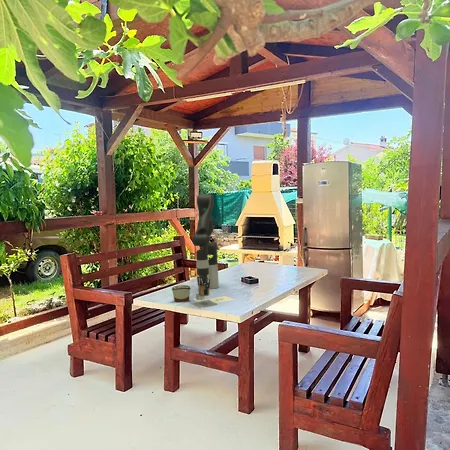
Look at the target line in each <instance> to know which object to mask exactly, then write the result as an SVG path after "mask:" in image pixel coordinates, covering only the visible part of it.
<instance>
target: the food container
mask: <svg viewBox="0 0 450 450" xmlns="http://www.w3.org/2000/svg"><path fill="white" fill-rule="evenodd" d="M171 291H172V295H173V301H174V302H176V303H188V302H190V297H191V296H190V295H191V294H190V292H191V286H190V285H188V284H187V285H186V284H178V285H175V286H172V287H171Z"/></svg>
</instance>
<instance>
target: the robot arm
mask: <svg viewBox="0 0 450 450" xmlns="http://www.w3.org/2000/svg"><path fill="white" fill-rule="evenodd" d="M214 197H215V196H214V195H213V194H210V193H208V194H207V193H206V194H205V193H200V194H198V195H197V196H196V205H197V206H196V207H197V209H198V216H199V217H198V218H199V219H198V221H197V226H196V227H197V228H196V230H195V233H194V234H193V237H192V245H193V246H195V247H201V249H198V250H196V253H195V255H196V257H195V258H196V262H195V263H196V266H195V267H196V275H197V276H196V280H197V286H198V285H203V286H204V295H208V288H209V290H212V289H213V290H214V289H219V286H220V285H219V265H218V264H219V263H218V245H217V244H218V243H216V242H215V241H213V242H211V235H212V234H213V233H214V229H215V227H214V221H213V219H212V217H211V216H212V213H213V209H214V205H215V204H214V203H215V198H214ZM205 209H206V210H205ZM209 256H212V257H210V258H209ZM208 296H209V295H208Z"/></svg>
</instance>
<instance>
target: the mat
mask: <svg viewBox="0 0 450 450" xmlns="http://www.w3.org/2000/svg"><path fill="white" fill-rule="evenodd" d="M191 305H194V306H195V307H197V308H199V309H201V307H203V308H207V307H212V306H217V305H219V303H214V302H212V301H210V300H206V301H205V300H204V301H198V302H197V301H195V302H191Z"/></svg>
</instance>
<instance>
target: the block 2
mask: <svg viewBox="0 0 450 450" xmlns="http://www.w3.org/2000/svg"><path fill="white" fill-rule="evenodd" d="M195 298H196V299H197V300H203V299H205V298H206V296H203V297H202V296H200V295H199V292H196V293H195Z"/></svg>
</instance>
